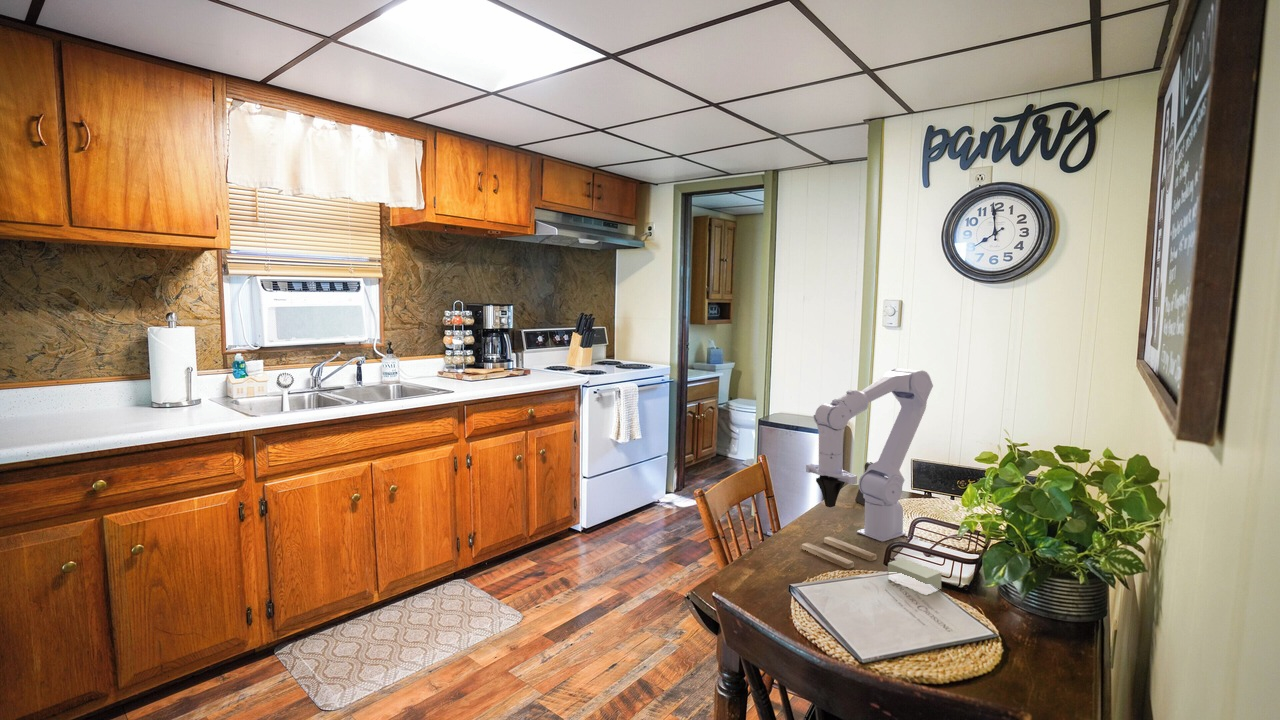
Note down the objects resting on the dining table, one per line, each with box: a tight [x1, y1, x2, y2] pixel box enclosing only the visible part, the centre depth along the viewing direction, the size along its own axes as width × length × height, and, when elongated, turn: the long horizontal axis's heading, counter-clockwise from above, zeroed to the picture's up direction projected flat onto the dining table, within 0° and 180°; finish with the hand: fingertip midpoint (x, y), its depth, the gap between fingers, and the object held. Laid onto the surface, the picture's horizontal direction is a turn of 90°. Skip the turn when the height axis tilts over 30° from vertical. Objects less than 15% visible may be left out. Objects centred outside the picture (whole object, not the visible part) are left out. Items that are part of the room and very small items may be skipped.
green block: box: [887, 557, 942, 590], centre depth 126 cm, size 5×9×4 cm, turn 31°
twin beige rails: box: [801, 536, 877, 570], centre depth 143 cm, size 10×14×1 cm
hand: (830, 506), depth 149 cm, fingers closed
